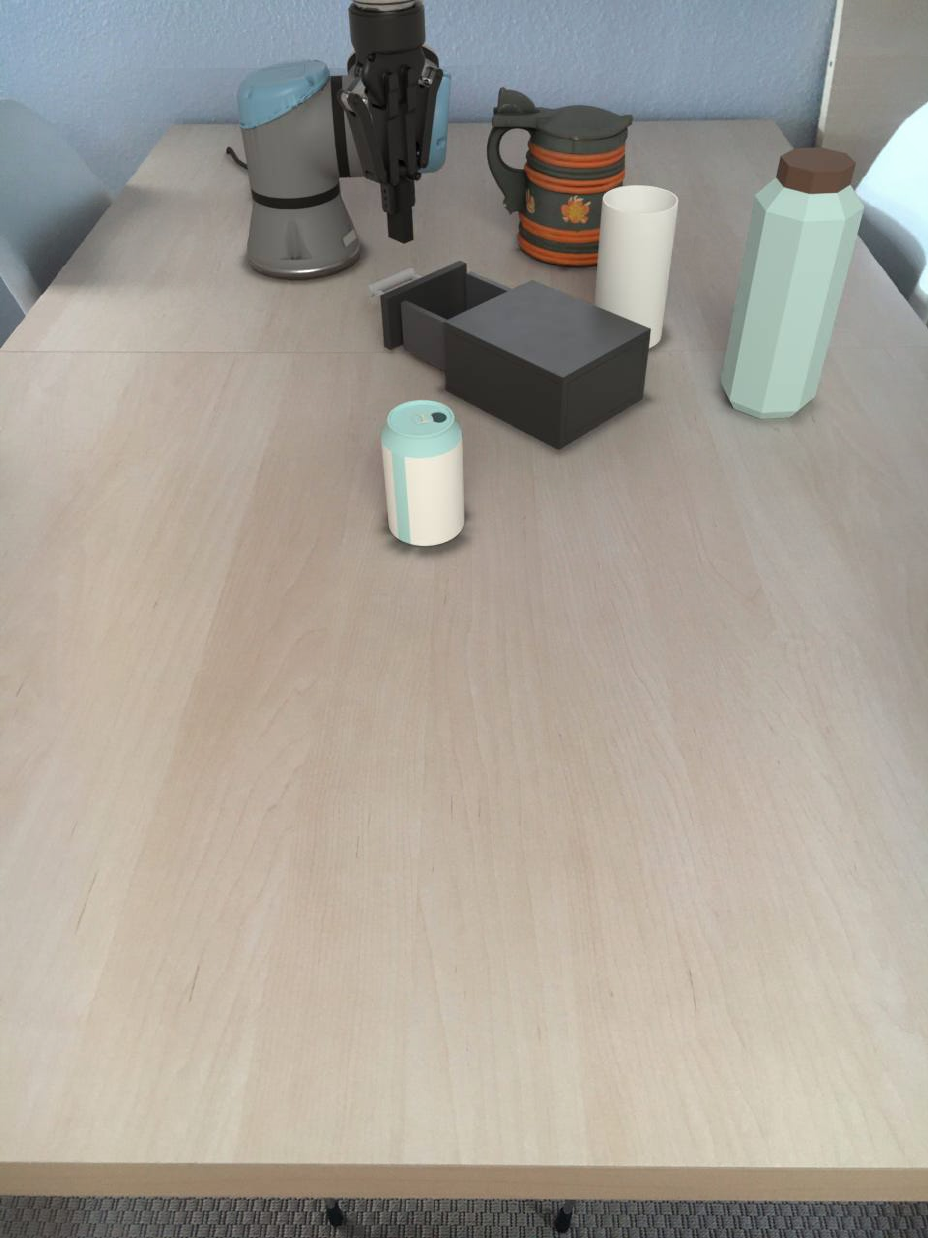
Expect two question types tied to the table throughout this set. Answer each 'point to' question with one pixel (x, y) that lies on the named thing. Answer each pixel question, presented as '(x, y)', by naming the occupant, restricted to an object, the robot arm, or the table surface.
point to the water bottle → (791, 282)
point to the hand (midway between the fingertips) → (400, 238)
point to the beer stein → (559, 174)
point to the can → (423, 473)
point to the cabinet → (546, 361)
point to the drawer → (428, 306)
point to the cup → (636, 254)
